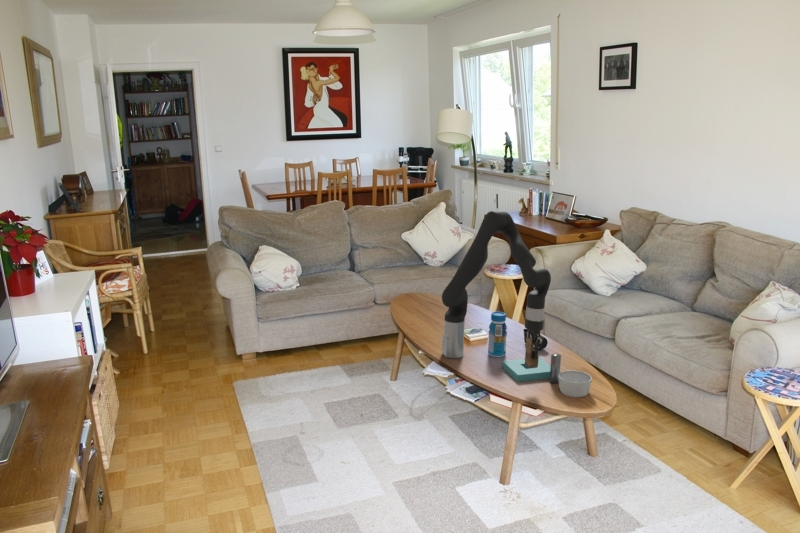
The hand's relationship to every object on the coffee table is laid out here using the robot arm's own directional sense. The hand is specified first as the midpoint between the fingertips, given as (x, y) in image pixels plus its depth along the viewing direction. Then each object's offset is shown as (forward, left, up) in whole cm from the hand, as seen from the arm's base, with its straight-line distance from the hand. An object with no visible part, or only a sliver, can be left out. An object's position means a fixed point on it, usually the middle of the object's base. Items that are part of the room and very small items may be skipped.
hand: (531, 356), depth 274 cm
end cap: (+23, +41, -14) cm, 49 cm away
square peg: (0, 0, -4) cm, 4 cm away
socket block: (+6, +14, -13) cm, 20 cm away
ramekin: (+15, -9, -14) cm, 22 cm away
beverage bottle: (+1, +37, -13) cm, 39 cm away
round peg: (+12, +2, -13) cm, 18 cm away
